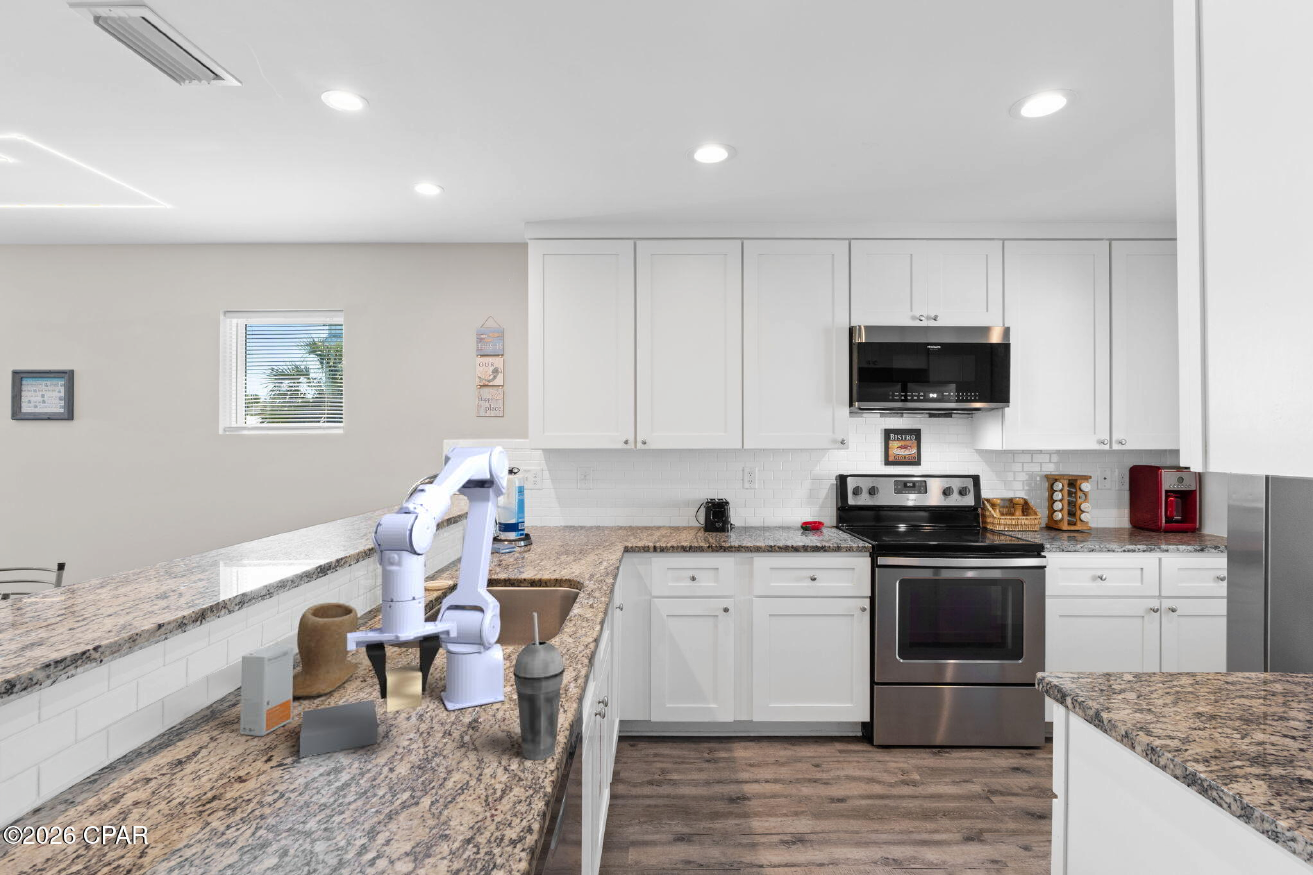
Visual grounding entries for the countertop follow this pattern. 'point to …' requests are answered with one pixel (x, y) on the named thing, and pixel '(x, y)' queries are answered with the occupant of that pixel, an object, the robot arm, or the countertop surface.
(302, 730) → the base block
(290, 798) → the countertop surface
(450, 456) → the robot arm
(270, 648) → the skincare box
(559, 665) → the beverage cup
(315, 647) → the stone cup
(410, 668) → the maple cube
